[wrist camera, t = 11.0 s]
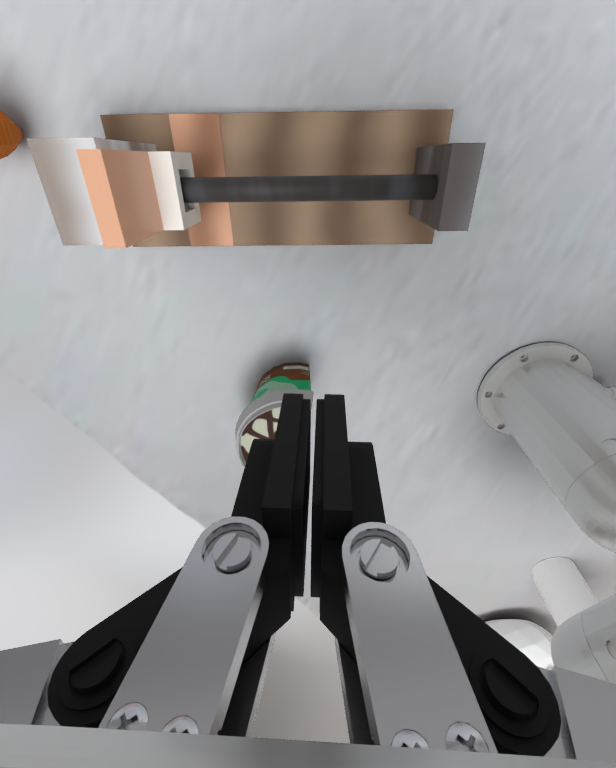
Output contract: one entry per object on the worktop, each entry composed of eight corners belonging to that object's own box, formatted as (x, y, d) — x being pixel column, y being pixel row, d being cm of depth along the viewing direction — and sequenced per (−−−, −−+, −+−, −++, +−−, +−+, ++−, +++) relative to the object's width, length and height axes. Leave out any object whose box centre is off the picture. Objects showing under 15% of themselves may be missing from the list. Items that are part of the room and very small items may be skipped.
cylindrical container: (543, 585, 65) (654, 790, 44) (522, 569, 63) (629, 779, 42) (581, 569, 63) (720, 779, 41) (561, 551, 60) (697, 765, 39)
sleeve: (191, 152, 27) (128, 148, 18) (201, 220, 29) (151, 247, 20) (136, 153, 27) (47, 149, 18) (151, 221, 29) (79, 248, 20)
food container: (261, 338, 41) (247, 385, 32) (313, 354, 42) (313, 403, 33) (237, 421, 47) (220, 479, 38) (283, 433, 48) (276, 492, 39)
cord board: (447, 111, 30) (513, 87, 20) (427, 240, 35) (472, 271, 25) (109, 117, 30) (11, 95, 20) (139, 243, 35) (73, 275, 26)
